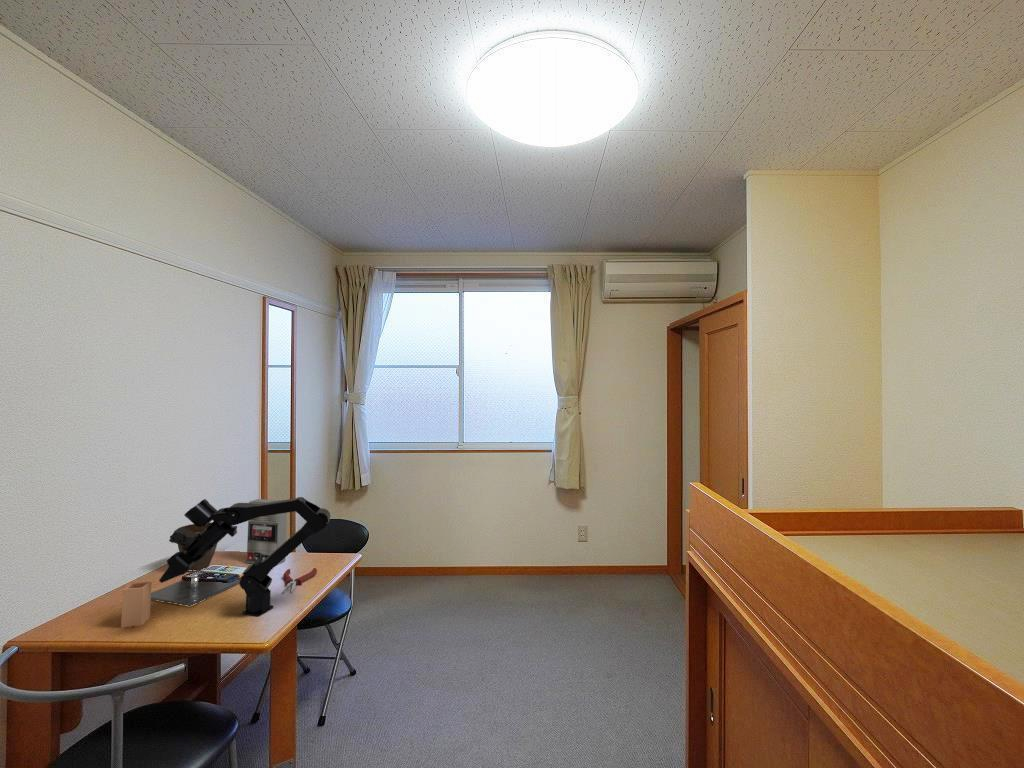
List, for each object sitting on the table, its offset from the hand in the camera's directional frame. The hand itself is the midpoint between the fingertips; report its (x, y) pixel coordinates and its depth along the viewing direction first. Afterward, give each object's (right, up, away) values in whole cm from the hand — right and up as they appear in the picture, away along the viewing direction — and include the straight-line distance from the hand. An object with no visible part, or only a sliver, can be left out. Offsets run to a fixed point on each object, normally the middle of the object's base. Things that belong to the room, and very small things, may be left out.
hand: (167, 575), depth 138 cm
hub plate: (-6, -14, +20) cm, 25 cm away
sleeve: (-8, -13, -2) cm, 15 cm away
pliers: (+24, -15, +29) cm, 41 cm away
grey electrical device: (+4, -15, +48) cm, 50 cm away
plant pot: (-19, -14, +40) cm, 47 cm away
